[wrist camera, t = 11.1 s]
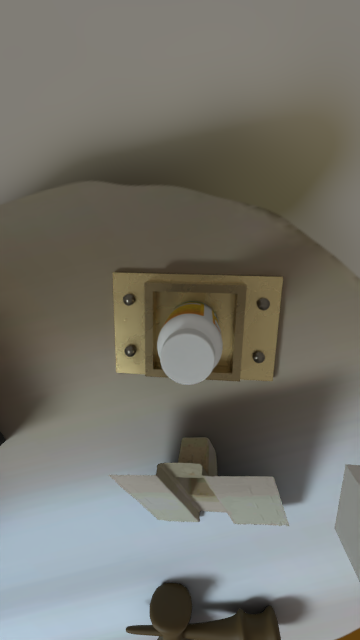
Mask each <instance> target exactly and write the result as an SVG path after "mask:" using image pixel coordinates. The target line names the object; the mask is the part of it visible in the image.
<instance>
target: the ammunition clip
mask: <svg viewBox="0 0 360 640" xmlns="http://www.w3.org/2000/svg"><path fill="white" fill-rule="evenodd" d="M4 442H5V438H4V436H3V435H2V433H1V432H0V445H1V444H3V443H4Z"/></svg>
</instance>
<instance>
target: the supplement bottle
mask: <svg viewBox="0 0 360 640" xmlns="http://www.w3.org/2000/svg"><path fill="white" fill-rule="evenodd" d="M222 349H223V342H222V336H221V330H220V324H219V320H218V317H217V315H216V313H215V312H214V311H213V309H212V308H210V307H209V306H208V305H206V304H204V303H202V302H198V301H188V302H184V303H182V304H180V305H178V306H177V307H176V308H175V309H174V310H173V311H172V312H171V313H170V315H169V317H168V319H167V320H166V322H165V324H164V326H163V327H162V329H161V331H160V334H159V337H158V341H157V350H158V355H159V357H160V363H161V366H162V369H163V371H164V372H165V374H166V375H167V376H168V377H169V378H170V379H172V380H173V381H175V382H177V383H180V384H185V385H192V384H197V383H199V382H201V381H203V380H205V379H206V378H207V377H208V376H209V375H210V374H211V372H212V370H213V369H214V368H215V366H216V365H217V364H218V362H219V360H220V358H221V354H222Z"/></svg>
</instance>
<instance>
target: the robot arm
mask: <svg viewBox="0 0 360 640" xmlns="http://www.w3.org/2000/svg"><path fill="white" fill-rule="evenodd" d="M335 530H336V532H337V534H338V536H339V538H340V541H341V543H342V545H343V547H344V549H345V551H346V553H347V556H348V558H349V560H350V562H351V564H352V566H353V568H354V571H355V573H356V575H357V577H358V579H359V581H360V465H345V471H344V477H343V482H342V488H341V494H340V500H339V505H338V511H337V517H336V523H335Z"/></svg>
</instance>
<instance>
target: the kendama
mask: <svg viewBox="0 0 360 640" xmlns="http://www.w3.org/2000/svg"><path fill="white" fill-rule="evenodd" d="M191 613H192V600H191V596H190V594H189V592H188V590H187V588H186V587H184V586H183V585H182V584H178V583H164V584H163V585H161V586H159V587H158V588H157V589H156V591H155V592H154V594H153V596H152V599H151V603H150V619H151V622H152V625H136V626H128V627H127V628H126V632H128V633H131V634H138V635H152V636H159V638H158V639H157V640H281V637H280V632H279V626H278V621H277V618H276V615H275V612H274V610H273V608H272V607H271V606H268V607H266V609H265V610H264V611H263V612H262V613H259V614H248V613H245V612H244V611H243V610H242V609H239V610H238V611H237V613H236V614H235V615H233V616H231V617H228V618H225V619H221V620H215V621H210V622H203V623H195V624H188V623H189V621H190V618H191Z"/></svg>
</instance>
